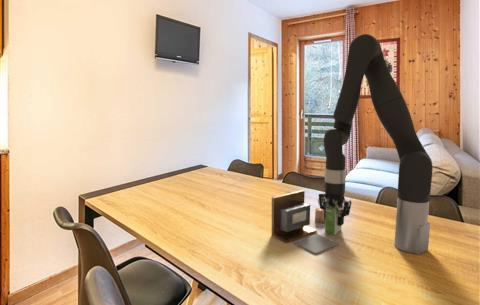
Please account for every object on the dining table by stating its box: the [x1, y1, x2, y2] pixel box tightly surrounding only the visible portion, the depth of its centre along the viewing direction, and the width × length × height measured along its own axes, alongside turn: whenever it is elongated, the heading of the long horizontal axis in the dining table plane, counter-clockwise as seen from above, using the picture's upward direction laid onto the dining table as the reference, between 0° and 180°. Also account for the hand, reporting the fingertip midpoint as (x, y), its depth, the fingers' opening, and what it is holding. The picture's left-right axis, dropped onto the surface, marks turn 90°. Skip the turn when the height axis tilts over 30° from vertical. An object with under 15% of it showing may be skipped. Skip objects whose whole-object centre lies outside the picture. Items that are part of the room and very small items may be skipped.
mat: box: [293, 233, 340, 256], centre depth 106 cm, size 10×12×1 cm
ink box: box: [324, 200, 342, 236], centre depth 116 cm, size 7×4×13 cm, turn 141°
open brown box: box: [271, 189, 318, 244], centre depth 114 cm, size 8×16×15 cm, turn 124°
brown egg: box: [314, 207, 325, 224], centre depth 127 cm, size 4×4×5 cm
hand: (333, 222), depth 116 cm, fingers open, 5 cm apart
